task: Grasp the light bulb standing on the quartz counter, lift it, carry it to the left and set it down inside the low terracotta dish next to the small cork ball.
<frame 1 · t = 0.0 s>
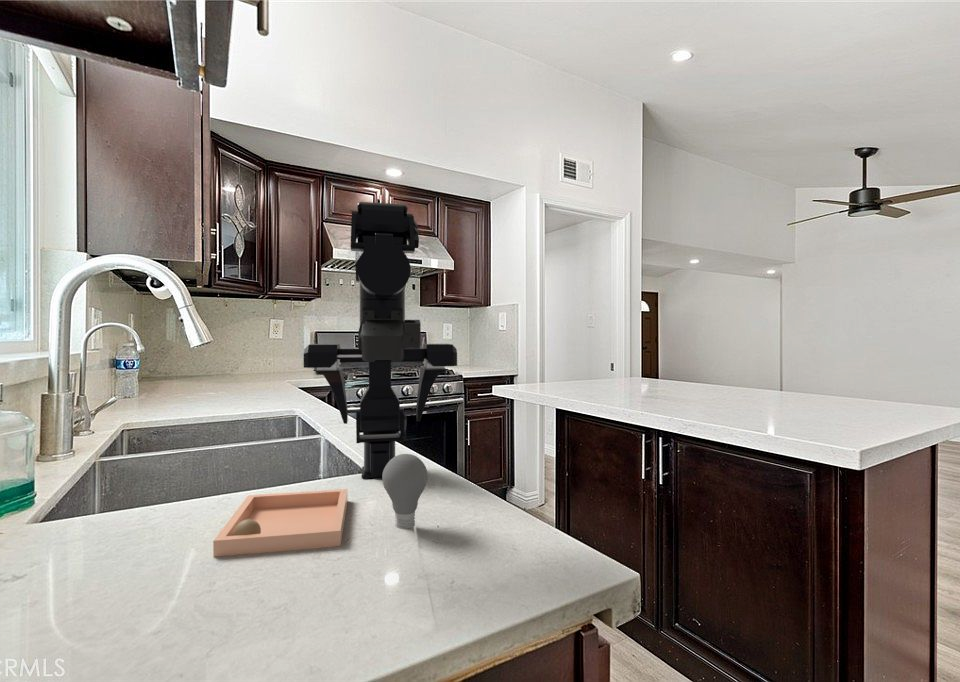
hand: (382, 422, 63), 15 cm above the countertop, fingers open, 9 cm apart
cork ball: (247, 544, 59), point 1 cm above the countertop, touching dish
light bulb: (405, 530, 66), on the countertop
dish: (290, 529, 65), on the countertop
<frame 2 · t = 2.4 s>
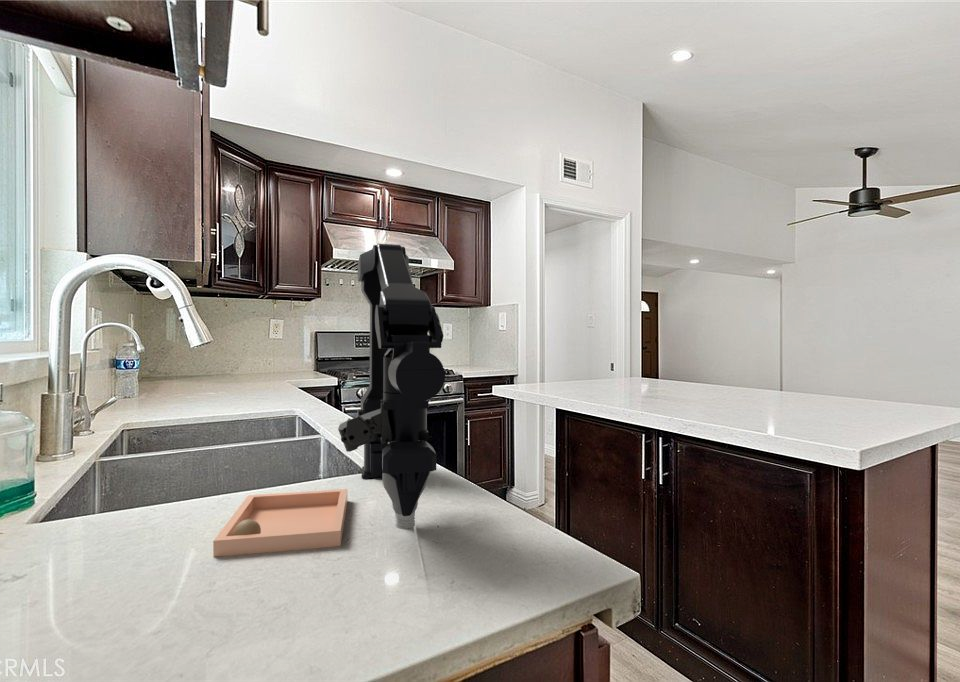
hand: (405, 507, 65), 3 cm above the countertop, fingers closed on light bulb, 5 cm apart
light bulb: (405, 530, 66), on the countertop, touching gripper
everything else where it was.
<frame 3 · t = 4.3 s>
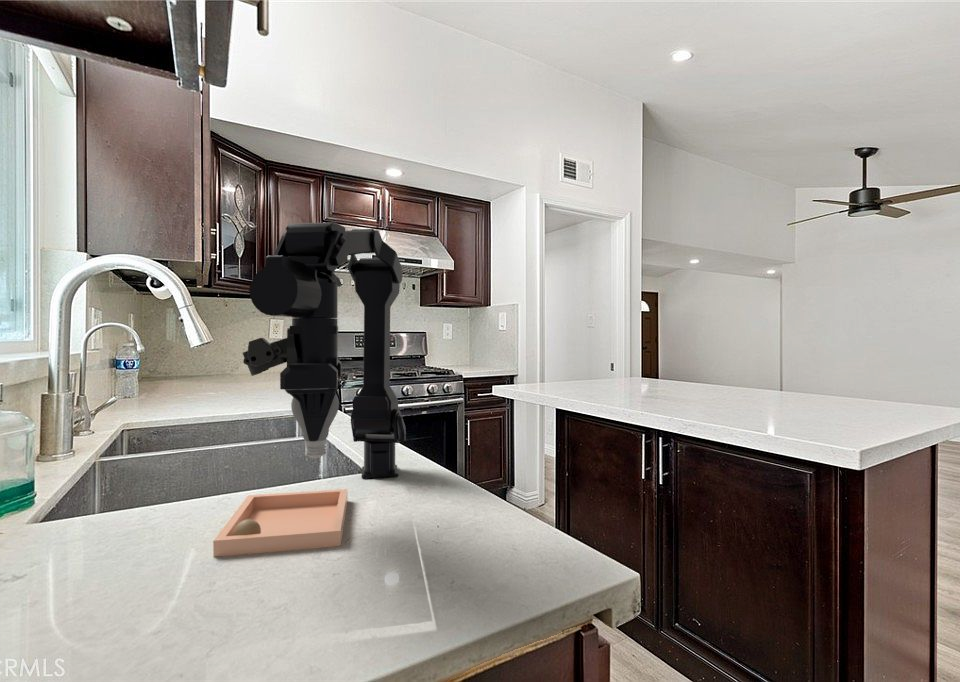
hand: (315, 436, 65), 12 cm above the countertop, fingers closed on light bulb, 5 cm apart
light bulb: (315, 459, 65), point 9 cm above the countertop, touching gripper
everything else where it was.
when the fingers open (5 cm above the countertop, at t = 6.3 s): light bulb drops 1 cm, resting on dish.
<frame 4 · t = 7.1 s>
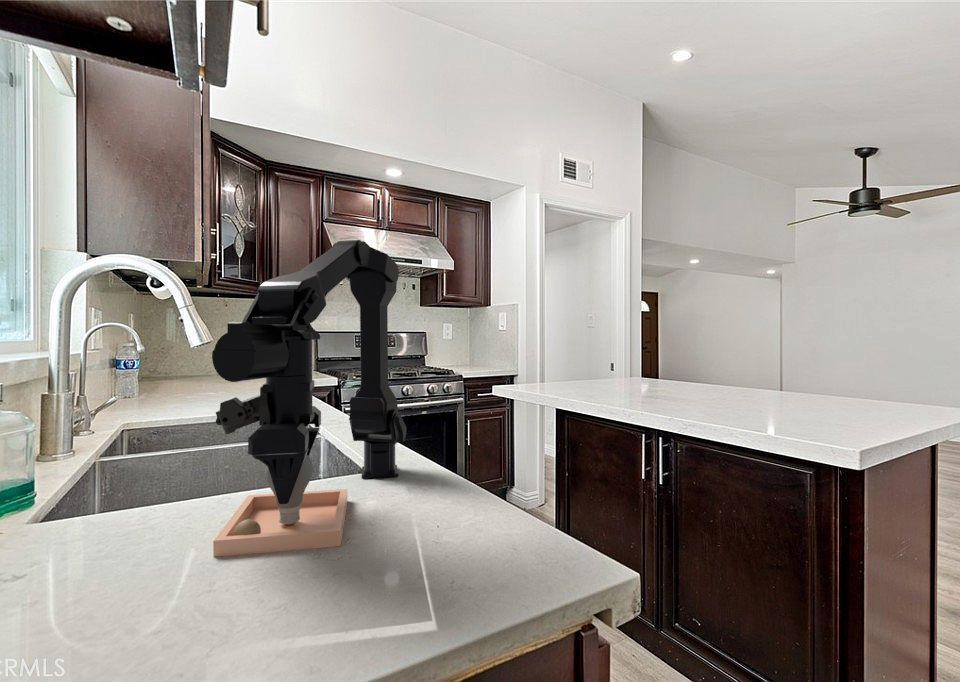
hand: (290, 491, 65), 5 cm above the countertop, fingers open, 9 cm apart
light bulb: (289, 525, 65), resting on dish
everything else where it was.
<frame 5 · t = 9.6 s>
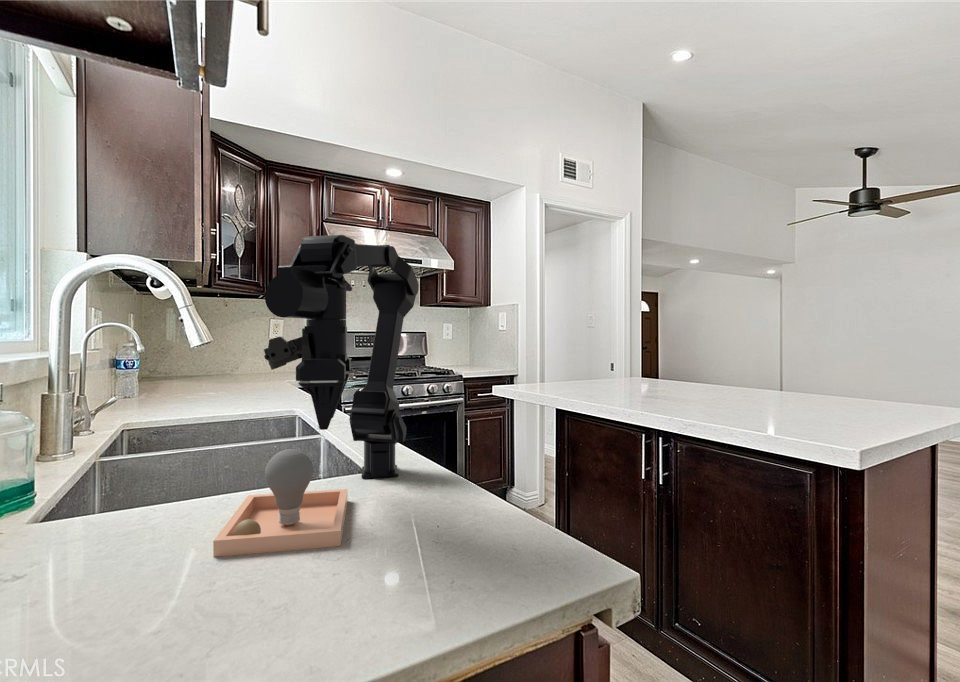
hand: (326, 423, 74), 13 cm above the countertop, fingers open, 9 cm apart
nothing on the countertop moved.
at the end: light bulb inside the target area on the dish (0.1 cm from its centre), point 0.4 cm above the dish's base; the gripper is holding nothing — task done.
